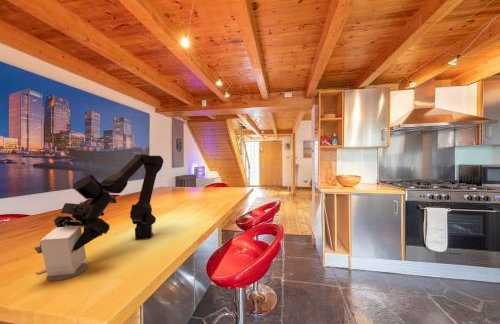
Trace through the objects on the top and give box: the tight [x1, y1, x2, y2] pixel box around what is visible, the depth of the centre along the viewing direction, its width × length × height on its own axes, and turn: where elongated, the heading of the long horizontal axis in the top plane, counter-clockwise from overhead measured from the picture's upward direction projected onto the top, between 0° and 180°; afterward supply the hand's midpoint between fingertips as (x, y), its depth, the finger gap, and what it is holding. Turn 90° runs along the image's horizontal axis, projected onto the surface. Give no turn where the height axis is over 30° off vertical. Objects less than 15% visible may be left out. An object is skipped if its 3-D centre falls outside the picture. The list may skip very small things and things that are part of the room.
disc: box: [46, 262, 89, 282], centre depth 69 cm, size 10×10×1 cm
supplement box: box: [39, 226, 87, 276], centre depth 67 cm, size 7×7×13 cm
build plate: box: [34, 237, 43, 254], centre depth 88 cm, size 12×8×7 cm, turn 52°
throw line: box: [36, 268, 47, 275], centre depth 72 cm, size 10×2×1 cm, turn 153°
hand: (62, 248), depth 67 cm, fingers closed on supplement box, 9 cm apart
